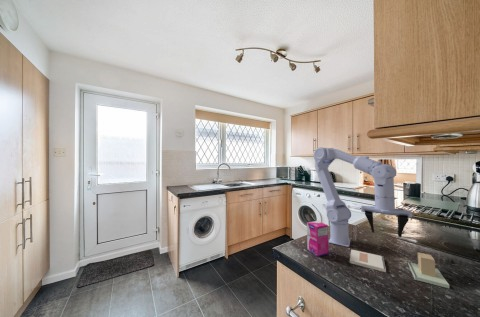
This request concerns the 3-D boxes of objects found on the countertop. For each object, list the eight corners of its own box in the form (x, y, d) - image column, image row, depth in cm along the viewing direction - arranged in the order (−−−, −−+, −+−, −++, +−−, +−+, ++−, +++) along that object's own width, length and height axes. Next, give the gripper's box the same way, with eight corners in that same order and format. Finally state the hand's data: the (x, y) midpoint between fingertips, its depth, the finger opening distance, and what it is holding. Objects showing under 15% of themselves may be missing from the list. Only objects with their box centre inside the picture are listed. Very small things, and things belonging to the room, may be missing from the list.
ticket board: (351, 251, 72) (351, 249, 72) (383, 259, 66) (383, 256, 66) (349, 263, 64) (349, 259, 64) (386, 272, 58) (385, 268, 58)
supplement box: (306, 250, 73) (306, 222, 74) (318, 248, 75) (317, 220, 76) (317, 257, 68) (316, 226, 68) (329, 254, 70) (328, 224, 70)
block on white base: (408, 264, 62) (407, 247, 63) (437, 271, 58) (436, 252, 59) (415, 279, 54) (414, 259, 54) (449, 288, 50) (448, 266, 50)
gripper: (360, 196, 67) (361, 233, 67) (413, 200, 59) (415, 242, 59) (360, 193, 73) (362, 227, 73) (409, 197, 65) (410, 235, 64)
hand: (385, 233), depth 66 cm, fingers open, 7 cm apart
